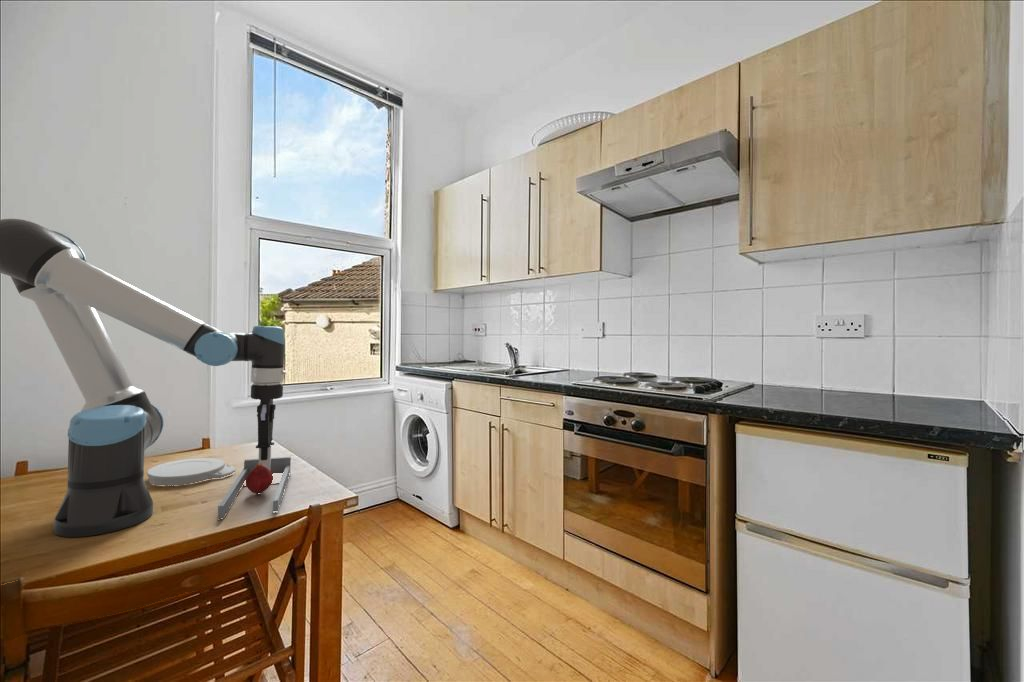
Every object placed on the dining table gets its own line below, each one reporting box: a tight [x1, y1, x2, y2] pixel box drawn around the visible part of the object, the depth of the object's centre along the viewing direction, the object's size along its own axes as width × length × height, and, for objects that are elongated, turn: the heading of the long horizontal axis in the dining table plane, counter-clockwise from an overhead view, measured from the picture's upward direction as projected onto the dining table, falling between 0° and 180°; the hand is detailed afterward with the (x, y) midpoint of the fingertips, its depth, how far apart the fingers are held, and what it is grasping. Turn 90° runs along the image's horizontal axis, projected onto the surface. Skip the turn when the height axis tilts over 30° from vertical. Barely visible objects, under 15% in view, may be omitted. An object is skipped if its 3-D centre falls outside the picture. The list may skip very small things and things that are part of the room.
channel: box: [217, 456, 292, 520], centre depth 108 cm, size 11×29×5 cm, turn 22°
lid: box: [146, 457, 236, 486], centre depth 119 cm, size 17×20×3 cm
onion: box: [246, 462, 273, 495], centre depth 108 cm, size 6×6×8 cm
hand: (264, 470), depth 115 cm, fingers closed
